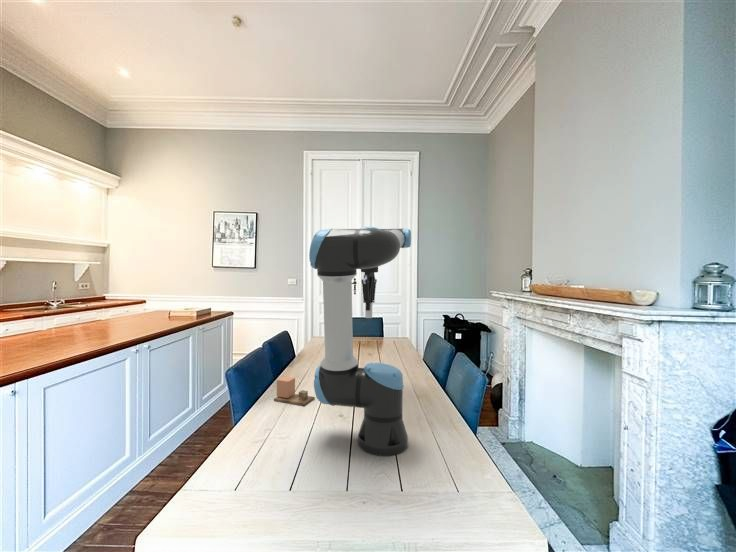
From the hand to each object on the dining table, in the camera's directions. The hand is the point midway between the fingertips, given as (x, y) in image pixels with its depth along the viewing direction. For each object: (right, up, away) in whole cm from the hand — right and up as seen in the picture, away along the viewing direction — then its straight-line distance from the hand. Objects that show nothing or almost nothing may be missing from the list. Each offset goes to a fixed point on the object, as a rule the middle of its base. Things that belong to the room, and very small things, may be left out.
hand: (368, 317), depth 149 cm
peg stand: (-30, -32, -10) cm, 45 cm away
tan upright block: (-34, -30, -9) cm, 46 cm away
